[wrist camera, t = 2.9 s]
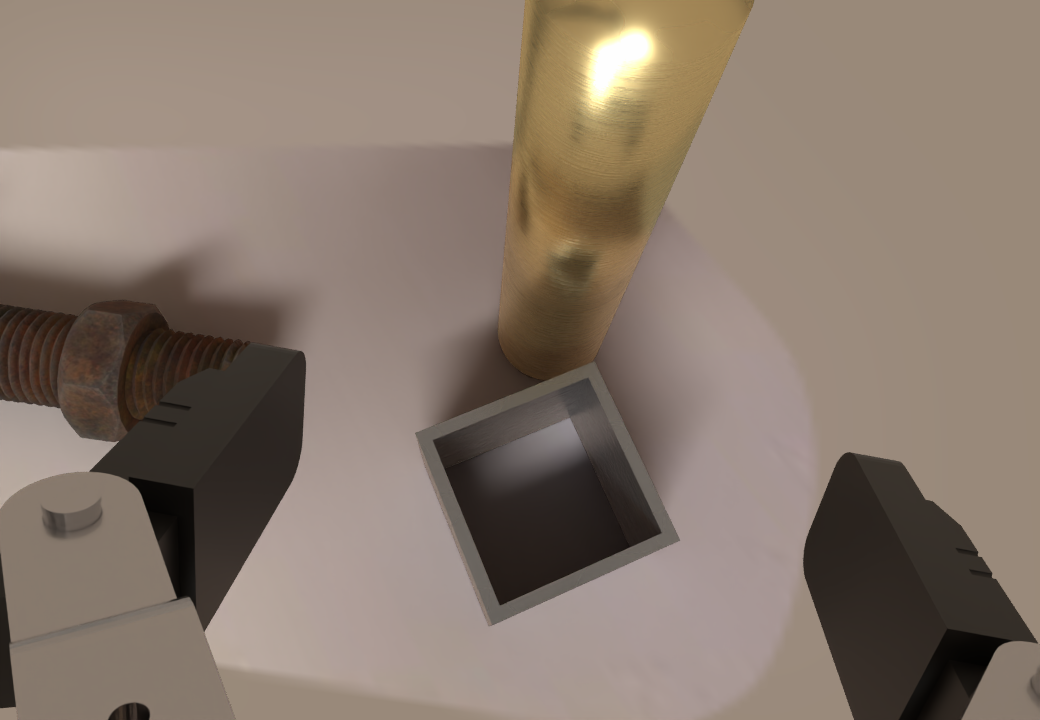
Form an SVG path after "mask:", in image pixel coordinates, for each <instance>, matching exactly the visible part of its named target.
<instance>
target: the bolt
mask: <svg viewBox="0 0 1040 720" xmlns="http://www.w3.org/2000/svg"><path fill="white" fill-rule="evenodd" d="M250 343H251V342H250V341H247V342H245V343H244V344H243V343H242V341H241V340H236V341H234V342H233V340H232V339H227V340H225V341H224V340H223V339H222V338H221V337H219V338H216V339H214V338H213V337H212V336H209V335H208V336H207V337H204V336H203V335H200V334H198V335H196V336H195V335H193V334H192V333H187V334H185V333H184V332H181V331H178V332H176V333H175V332H174V331H173V330H169V327H168V324H167V322H166V320H165V319H164V317H163V316H162V314H161V313H160V311H159V310H158V309H157V307H156V306H155V305H153V304H146V303H139V302H132V301H126V300H118V301H106V302H99V303H95V304H93V305H91V306H89V307H87V308H86V309H85V310H84V311H83V312H82V313H81V314H80V315H79V316H75V315H71V314H69V315H65V314H63V313H55V312H46V311H42V310H33V309H29V308H27V309H25V308H21V307H13V306H9V305H6V306H5V305H2V304H0V400H2V399H3V400H6V401H14V402H25V403H27V404H33V403H34V404H37V405H40V406H41V405H46V406H48V407H57V408H61V411H62V413H63V415H64V417H65V418H66V420H67V421H68V423H69V424H70V425H71V427H72V428H73V429H74V430H75V431H76V433H77V434H78V435H79V436H80V437H81V438H88V439H95V440H102V441H110V442H116V441H120V440H121V439H122V438H123V437H124V436H125V435H126V434H127V433H128V432H129V431H130V430H131V429H132V428H133V427H134V426H135V425H136V424H137V423H138V422H139V421H143V419H144V416H145V415H146V414H147V413H148V412H149V411H150V410H151V409H152V408H153V407H154V406H155V405H159V401H160V400H161V399H162V398H163V397H164V396H165V395H166V394H167V393H168V392H169V391H170V390H171V389H172V388H173V387H174V386H175V385H176V384H177V383H178V382H180V381H182V380H184V379H186V378H188V377H190V376H193V375H195V374H197V373H199V372H201V371H204V370H206V369H208V368H212V369H217V370H223V371H225V370H226V369H227V368H228V367H229V366H230V365H231V363H232V362H233V361H234V360H235V359H236V358H237V357H238V356H239V355H240V354H241V352H242V351H243V350H244V349H245V348H246V347H247V346H248V345H249V344H250Z"/></svg>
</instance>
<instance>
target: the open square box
mask: <svg viewBox="0 0 1040 720" xmlns="http://www.w3.org/2000/svg"><path fill="white" fill-rule="evenodd" d="M567 418H571V420H572V422H573V425H574V427H575V429H576V431H577V433H578V435H579V438H580V440H581V442H582V444H583V446H584V448H585V451H586V453H587V455H588V457H589V459H590V462H591V464H592V466H593V468H594V470H595V472H596V475H597V477H598V479H599V481H600V483H601V485H602V488H603V490H604V492H605V494H606V496H607V498H608V501H609V503H610V505H611V507H612V509H613V512H614V514H615V516H616V518H617V520H618V522H619V525H620V527H621V529H622V531H623V533H624V535H625V538H626V540H627V542H628V544H629V546H630V548H628V549H625V550H623V551H621V552H619V553H617V554H614V555H612V556H610V557H608V558H605V559H603V560H601V561H599V562H596V563H594V564H592V565H590V566H587V567H585V568H583V569H581V570H579V571H576V572H574V573H572V574H570V575H567V576H565V577H563V578H561V579H558V580H556V581H554V582H552V583H550V584H547V585H545V586H543V587H541V588H538V589H536V590H534V591H532V592H529V593H527V594H525V595H523V596H521V597H518V598H516V599H514V600H512V601H509V602H507V603H505V604H503V605H499V603H498V600H497V598H496V595H495V593H494V590H493V588H492V585H491V583H490V581H489V578H488V576H487V573H486V571H485V568H484V566H483V563H482V561H481V558H480V556H479V553H478V551H477V548H476V546H475V544H474V541H473V539H472V536H471V534H470V531H469V529H468V526H467V524H466V521H465V519H464V516H463V514H462V512H461V509H460V507H459V504H458V502H457V499H456V497H455V494H454V492H453V489H452V487H451V484H450V482H449V479H448V477H447V475H446V472H445V470H444V469H445V468H448V467H450V466H453V465H455V464H458V463H460V462H462V461H465V460H467V459H470V458H472V457H475V456H477V455H480V454H482V453H484V452H487V451H489V450H492V449H494V448H497V447H499V446H501V445H504V444H506V443H509V442H511V441H514V440H516V439H518V438H521V437H523V436H526V435H528V434H531V433H533V432H535V431H538V430H540V429H543V428H545V427H548V426H550V425H552V424H555V423H557V422H560V421H562V420H565V419H567ZM415 434H416V437H417V441H418V444H419V448H420V451H421V455H422V458H423V462H424V465H425V468H426V470H427V473H428V475H429V478H430V480H431V483H432V485H433V488H434V490H435V493H436V495H437V498H438V500H439V503H440V505H441V508H442V510H443V513H444V515H445V518H446V520H447V523H448V525H449V528H450V530H451V533H452V535H453V538H454V540H455V543H456V545H457V548H458V550H459V553H460V555H461V558H462V560H463V563H464V565H465V568H466V570H467V573H468V575H469V578H470V580H471V583H472V585H473V588H474V590H475V593H476V595H477V598H478V600H479V603H480V605H481V608H482V610H483V613H484V615H485V618H486V621H487V623H488V626H492V625H494V624H496V623H498V622H501V621H503V620H505V619H507V618H510V617H512V616H514V615H516V614H518V613H521V612H523V611H525V610H527V609H529V608H532V607H534V606H536V605H538V604H540V603H543V602H545V601H547V600H549V599H552V598H554V597H556V596H558V595H560V594H563V593H565V592H567V591H569V590H571V589H574V588H576V587H578V586H580V585H583V584H585V583H587V582H589V581H591V580H594V579H596V578H598V577H600V576H602V575H605V574H607V573H609V572H611V571H614V570H616V569H618V568H620V567H622V566H625V565H627V564H629V563H631V562H633V561H636V560H638V559H640V558H642V557H644V556H647V555H649V554H651V553H653V552H656V551H658V550H660V549H662V548H664V547H667V546H669V545H671V544H673V543H675V542H678V541H680V539H679V537H678V535H677V533H676V530H675V528H674V526H673V524H672V522H671V520H670V518H669V516H668V514H667V512H666V510H665V507H664V505H663V503H662V501H661V499H660V497H659V495H658V493H657V491H656V489H655V487H654V485H653V482H652V480H651V478H650V476H649V474H648V472H647V470H646V468H645V466H644V464H643V462H642V459H641V457H640V455H639V453H638V451H637V449H636V447H635V445H634V443H633V441H632V439H631V437H630V434H629V432H628V430H627V428H626V426H625V424H624V422H623V420H622V418H621V416H620V414H619V412H618V409H617V407H616V405H615V403H614V401H613V399H612V397H611V395H610V393H609V391H608V389H607V386H606V384H605V382H604V380H603V378H602V376H601V374H600V372H599V370H598V368H597V366H596V364H595V361H594V362H592V363H589V364H587V365H584V366H582V367H579V368H577V369H574V370H572V371H569V372H567V373H564V374H562V375H559V376H557V377H554V378H552V379H549V380H547V381H544V382H542V383H539V384H537V385H534V386H532V387H529V388H527V389H524V390H522V391H519V392H517V393H514V394H512V395H509V396H507V397H504V398H502V399H499V400H497V401H494V402H492V403H489V404H487V405H484V406H482V407H479V408H477V409H474V410H472V411H469V412H467V413H464V414H462V415H459V416H457V417H454V418H452V419H449V420H447V421H444V422H442V423H439V424H437V425H434V426H432V427H429V428H427V429H424V430H422V431H419V432H417V433H415Z"/></svg>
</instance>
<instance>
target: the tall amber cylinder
mask: <svg viewBox="0 0 1040 720" xmlns="http://www.w3.org/2000/svg"><path fill="white" fill-rule="evenodd" d="M753 3H754V0H525V9H524V21H523V33H522V46H521V57H520V70H519V81H518V93H517V105H516V117H515V118H516V119H515V129H514V141H513V153H512V165H511V177H510V189H509V201H508V213H507V225H506V237H505V249H504V261H503V273H502V285H501V297H500V309H499V321H498V338H499V342H500V346H501V348H502V351H503V353H504V354H505V356H506V358H507V359H508V360H509V362H510V363H511V364H512V365H513V366H514V367H515V368H517V369H518V370H519V371H521V372H522V373H524V374H526V375H528V376H530V377H533V378H536V379H539V380H545V381H547V380H549V379H552V378H554V377H557V376H559V375H562V374H564V373H567V372H569V371H572V370H574V369H577V368H579V367H582V366H584V365H587V364H589V363H591V362H592V361H593V360H594V358H595V357H596V355H597V353H598V351H599V348H600V346H601V344H602V342H603V340H604V337H605V335H606V333H607V331H608V328H609V326H610V324H611V322H612V319H613V317H614V315H615V313H616V310H617V308H618V306H619V304H620V302H621V299H622V297H623V295H624V293H625V290H626V288H627V286H628V284H629V281H630V279H631V277H632V275H633V272H634V270H635V268H636V266H637V264H638V261H639V259H640V257H641V255H642V252H643V250H644V248H645V246H646V243H647V241H648V239H649V237H650V235H651V232H652V230H653V228H654V226H655V223H656V221H657V219H658V217H659V214H660V212H661V210H662V208H663V205H664V203H665V201H666V199H667V197H668V194H669V192H670V190H671V187H672V185H673V183H674V181H675V178H676V176H677V174H678V172H679V170H680V167H681V165H682V163H683V161H684V159H685V156H686V154H687V152H688V150H689V147H690V145H691V143H692V140H693V138H694V136H695V134H696V132H697V129H698V127H699V125H700V123H701V121H702V118H703V116H704V114H705V112H706V109H707V107H708V105H709V103H710V100H711V98H712V96H713V94H714V91H715V89H716V87H717V85H718V83H719V80H720V78H721V76H722V74H723V71H724V69H725V67H726V65H727V62H728V60H729V58H730V56H731V54H732V51H733V49H734V47H735V44H736V42H737V40H738V38H739V36H740V33H741V31H742V29H743V27H744V24H745V22H746V20H747V18H748V15H749V13H750V11H751V9H752V7H753Z"/></svg>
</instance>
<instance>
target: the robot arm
mask: <svg viewBox="0 0 1040 720" xmlns="http://www.w3.org/2000/svg"><path fill="white" fill-rule="evenodd" d="M305 377H306V360H305V355H304V353H303V352H302V351H297V350H292V349H286V348H281V347H275V346H270V345H264V344H259V343H250V344H249V345H248V346H247V347H246V348H245V349H244V350H243V351H242V352H241V354H240V355H239V356H238V357H237V358H236V359H235V360H234V361H233V362H232V363H231V365H230V366H229V367H228V368H227V369H226V370H225V371H223V370H217V369H212V368H208V369H206V370H204V371H201V372H199V373H197V374H195V375H193V376H190V377H188V378H186V379H184V380H182V381H180V382H178V383H177V384H176V385H175V386H174V387H173V388H172V389H171V390H170V391H169V392H168V393H167V394H166V395H165V396H164V397H163V398H162V399H161V400H160V401H159V405H155V406H154V407H153V408H152V409H151V410H150V411H149V412H148V413H147V414H146V415H145V416H144V419H143V421H139V422H138V423H137V424H136V425H135V426H134V427H133V428H132V429H131V430H130V431H129V432H128V433H127V434H126V435H125V436H124V437H123V438H122V439H121V440H120V441H119V442H118V443H117V444H116V445H115V446H114V447H113V448H112V449H111V450H110V451H109V452H108V453H107V454H106V455H105V456H104V457H103V458H102V459H101V460H100V461H99V462H98V463H97V464H96V465H95V466H94V467H93V468H92V469H91V470H90V471H89V472H75V473H67V474H61V475H57V476H52V477H49V478H46V479H43V480H40V481H37V482H35V483H33V484H30V485H28V486H26V487H25V488H23V489H21V490H19V491H18V492H17V493H15V494H14V495H13V496H11V497H10V498H9V499H8V500H7V501H6V502H5V503H4V505H3V506H2V508H1V509H0V708H8V707H16V709H17V719H18V720H236V719H235V716H234V713H233V710H232V708H231V705H230V702H229V700H228V697H227V694H226V691H225V688H224V686H223V683H222V680H221V677H220V675H219V672H218V669H217V666H216V664H215V661H214V658H213V655H212V653H211V650H210V647H209V644H208V642H207V639H206V636H205V633H204V632H205V630H206V628H207V626H208V625H209V623H210V621H211V620H212V618H213V616H214V614H215V613H216V611H217V609H218V608H219V606H220V604H221V602H222V601H223V599H224V597H225V596H226V594H227V592H228V590H229V589H230V587H231V585H232V584H233V582H234V580H235V578H236V577H237V575H238V573H239V572H240V570H241V568H242V566H243V565H244V563H245V561H246V560H247V558H248V556H249V554H250V553H251V551H252V549H253V548H254V546H255V544H256V542H257V541H258V539H259V537H260V536H261V534H262V532H263V530H264V529H265V527H266V525H267V524H268V522H269V520H270V518H271V517H272V515H273V513H274V512H275V510H276V508H277V506H278V505H279V503H280V501H281V500H282V498H283V496H284V495H285V493H286V491H287V489H288V488H289V486H290V484H291V482H292V480H293V478H294V476H295V473H296V470H297V467H298V463H299V459H300V454H301V448H302V438H303V418H304V397H305ZM803 566H804V575H805V579H806V581H807V584H808V588H809V590H810V593H811V596H812V599H813V602H814V605H815V608H816V611H817V614H818V616H819V619H820V622H821V625H822V628H823V631H824V634H825V637H826V640H827V643H828V645H829V648H830V651H831V654H832V657H833V660H834V663H835V666H836V669H837V672H838V674H839V677H840V680H841V683H842V686H843V689H844V692H845V695H846V697H847V700H848V703H849V706H850V709H851V712H852V715H853V718H854V720H1040V644H1038V642H1037V641H1036V639H1035V638H1034V636H1033V635H1032V633H1031V632H1030V630H1029V629H1028V627H1027V626H1026V624H1025V622H1024V621H1023V620H1022V618H1021V616H1020V615H1019V613H1018V612H1017V610H1016V609H1015V607H1014V606H1013V604H1012V603H1011V601H1010V600H1009V598H1008V597H1007V595H1006V594H1005V592H1004V590H1003V589H1002V588H1001V586H1000V584H999V583H998V581H997V580H996V579H993V578H992V572H991V571H990V569H989V568H988V566H987V565H986V563H985V562H984V560H983V559H982V557H978V551H977V549H976V548H975V546H974V545H973V543H972V542H971V540H970V539H969V537H968V536H967V534H966V532H965V531H964V530H963V528H962V526H961V525H959V524H958V523H957V522H956V521H955V520H954V519H952V518H951V517H950V516H949V515H948V514H946V513H945V512H944V511H943V510H942V509H941V508H940V507H939V506H937V505H936V504H935V503H934V502H933V501H929V500H925V498H924V497H923V495H922V493H921V492H920V490H919V488H918V487H917V485H916V484H915V482H914V480H913V479H912V477H911V476H910V474H909V472H908V471H907V469H906V468H905V466H904V465H903V464H902V463H901V462H899V461H894V460H889V459H883V458H878V457H872V456H867V455H861V454H855V453H850V452H849V453H845V454H844V455H843V456H842V457H841V458H840V459H839V461H838V462H837V464H836V466H835V468H834V471H833V473H832V476H831V479H830V481H829V483H828V486H827V488H826V491H825V493H824V496H823V498H822V501H821V503H820V506H819V508H818V511H817V513H816V516H815V518H814V520H813V523H812V525H811V528H810V530H809V533H808V536H807V539H806V543H805V548H804V558H803Z"/></svg>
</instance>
